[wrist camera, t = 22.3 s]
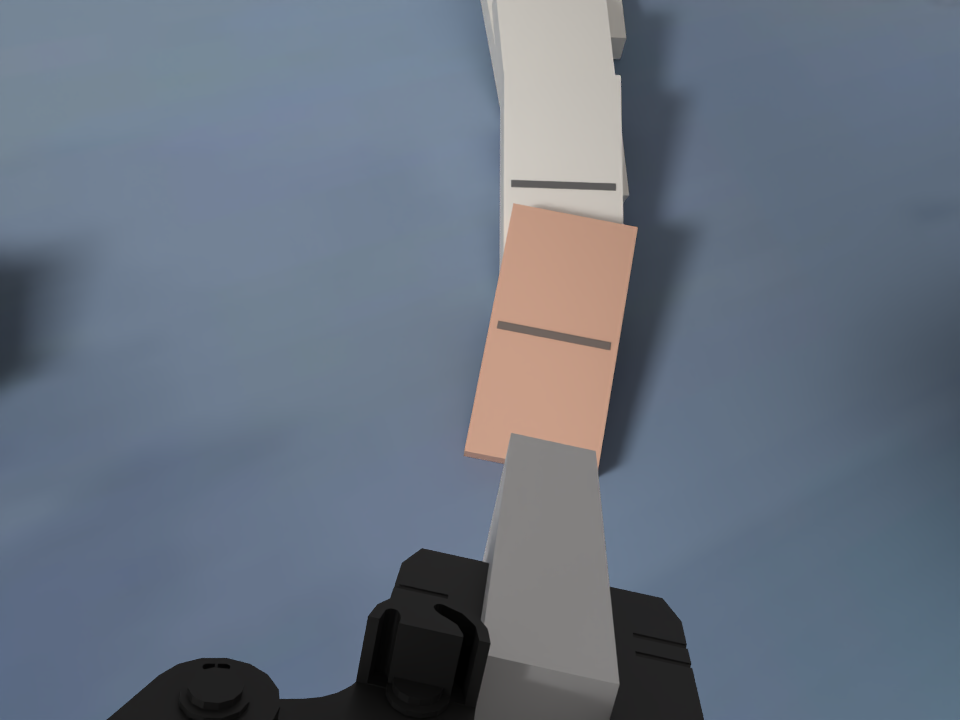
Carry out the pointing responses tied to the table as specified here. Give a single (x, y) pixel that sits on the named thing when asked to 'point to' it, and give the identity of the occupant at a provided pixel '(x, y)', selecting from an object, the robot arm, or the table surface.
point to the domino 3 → (552, 332)
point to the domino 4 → (616, 27)
